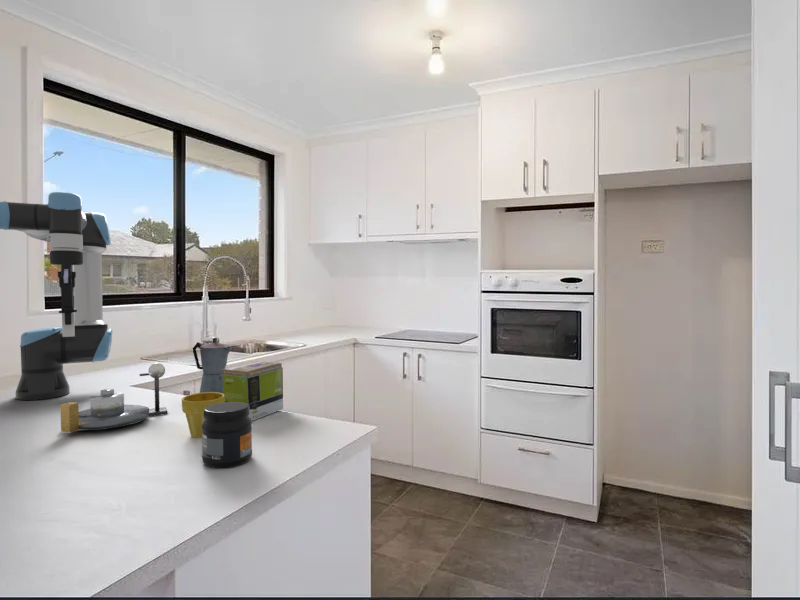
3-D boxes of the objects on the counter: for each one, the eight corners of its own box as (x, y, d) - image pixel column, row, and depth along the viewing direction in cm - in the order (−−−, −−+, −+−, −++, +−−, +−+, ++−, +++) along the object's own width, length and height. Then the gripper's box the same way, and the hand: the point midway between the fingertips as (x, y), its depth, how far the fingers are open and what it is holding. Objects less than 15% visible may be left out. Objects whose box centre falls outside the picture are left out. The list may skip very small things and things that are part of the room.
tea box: (258, 406, 155) (258, 360, 154) (283, 410, 150) (283, 362, 150) (222, 418, 141) (221, 367, 141) (248, 423, 137) (248, 370, 136)
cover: (83, 415, 134) (83, 391, 133) (110, 408, 141) (110, 386, 141) (104, 418, 131) (104, 394, 130) (131, 411, 138) (130, 388, 138)
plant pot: (183, 442, 120) (183, 403, 120) (181, 431, 129) (180, 394, 129) (228, 436, 125) (227, 398, 125) (222, 425, 134) (221, 390, 134)
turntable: (37, 428, 127) (36, 401, 127) (113, 407, 148) (112, 384, 148) (95, 436, 121) (94, 408, 121) (165, 412, 142) (165, 389, 142)
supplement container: (261, 454, 112) (260, 402, 112) (235, 471, 102) (235, 414, 101) (220, 450, 114) (219, 399, 114) (191, 467, 104) (190, 411, 104)
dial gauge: (139, 413, 146) (138, 362, 146) (165, 410, 150) (164, 360, 149) (140, 417, 142) (139, 365, 142) (167, 414, 146) (166, 363, 145)
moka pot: (224, 399, 164) (223, 340, 163) (183, 397, 167) (182, 338, 166) (239, 393, 173) (238, 336, 172) (200, 391, 176) (199, 335, 175)
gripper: (51, 251, 137) (54, 335, 138) (47, 248, 126) (49, 339, 127) (83, 251, 141) (85, 333, 142) (81, 249, 130) (84, 337, 131)
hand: (68, 336), depth 134 cm, fingers closed
